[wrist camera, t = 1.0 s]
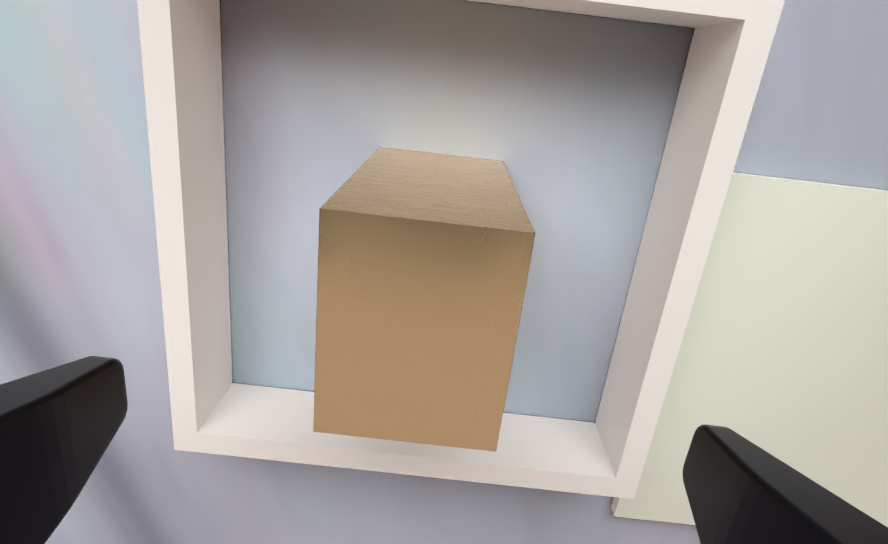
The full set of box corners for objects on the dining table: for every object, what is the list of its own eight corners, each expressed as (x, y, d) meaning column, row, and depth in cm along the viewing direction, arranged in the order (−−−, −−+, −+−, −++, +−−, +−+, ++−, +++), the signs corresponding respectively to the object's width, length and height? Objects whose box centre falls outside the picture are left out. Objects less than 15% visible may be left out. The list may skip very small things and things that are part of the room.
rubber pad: (1042, 208, 18) (1058, 212, 17) (872, 535, 22) (881, 545, 22) (706, 169, 17) (713, 172, 17) (610, 506, 22) (614, 516, 22)
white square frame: (730, 0, 16) (788, -14, 13) (611, 441, 21) (633, 499, 18) (189, -65, 15) (129, -94, 13) (212, 398, 21) (174, 449, 18)
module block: (502, 161, 17) (535, 233, 10) (482, 301, 19) (495, 451, 12) (379, 146, 17) (319, 208, 10) (370, 289, 19) (313, 431, 12)
